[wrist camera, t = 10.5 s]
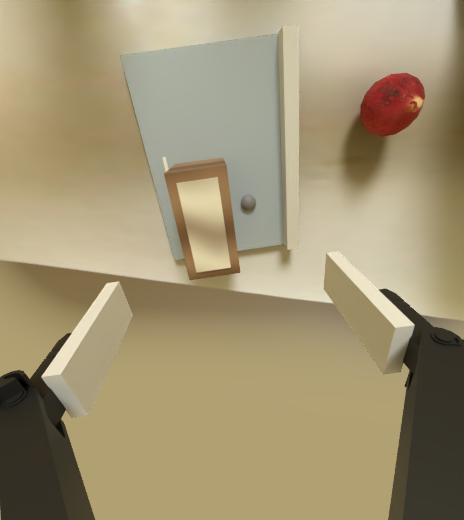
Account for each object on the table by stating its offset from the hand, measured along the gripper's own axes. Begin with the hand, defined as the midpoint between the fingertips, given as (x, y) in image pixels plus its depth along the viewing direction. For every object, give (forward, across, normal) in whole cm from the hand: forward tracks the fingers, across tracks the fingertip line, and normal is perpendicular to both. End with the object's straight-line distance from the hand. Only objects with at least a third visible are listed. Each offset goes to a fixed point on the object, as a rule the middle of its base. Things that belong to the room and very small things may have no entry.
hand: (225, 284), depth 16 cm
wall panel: (+21, -1, -5) cm, 21 cm away
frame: (+20, +2, 0) cm, 20 cm away
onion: (+21, -20, -9) cm, 31 cm away
